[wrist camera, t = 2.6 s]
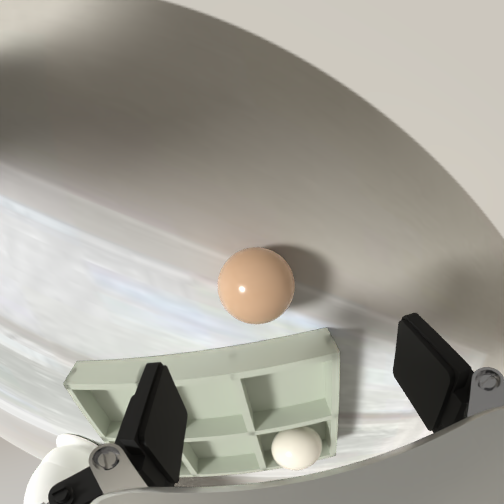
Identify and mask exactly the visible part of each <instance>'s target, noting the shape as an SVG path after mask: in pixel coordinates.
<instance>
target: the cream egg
mask: <svg viewBox="0 0 504 504" xmlns="http://www.w3.org/2000/svg"><path fill="white" fill-rule="evenodd" d="M271 451H272V455H273V458H274V459H275V461H276V462H277V463H278V464H279V465H280V466H282V467H283V468H286V469H289V470H302V469H305V468H308V467H310V466H311V465H313V464H314V463H315V462H316V461H317V460H318V458H319V457H320V455H321V452H322V441H321V438H320V436H319V435H318V433H317V432H316V431H315V430H313V429H312V428H310V427H308V426H302V427H298V428H293V429H288V430H283V431H280V432H279V433H278V434H277V435H276V436H275V438H274V439H273V442H272V446H271Z"/></svg>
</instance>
